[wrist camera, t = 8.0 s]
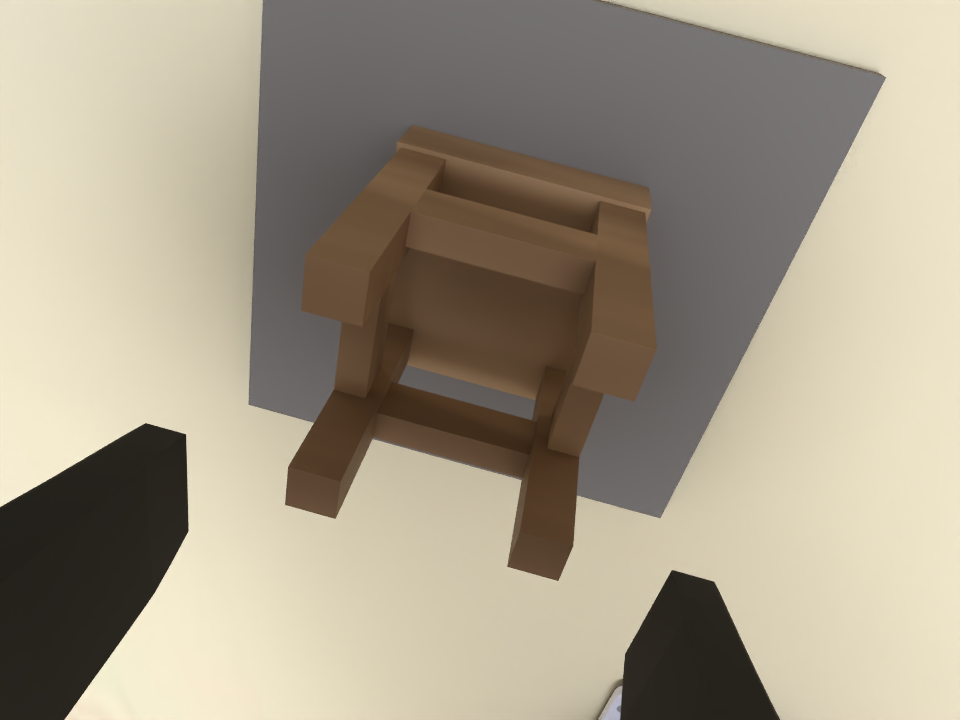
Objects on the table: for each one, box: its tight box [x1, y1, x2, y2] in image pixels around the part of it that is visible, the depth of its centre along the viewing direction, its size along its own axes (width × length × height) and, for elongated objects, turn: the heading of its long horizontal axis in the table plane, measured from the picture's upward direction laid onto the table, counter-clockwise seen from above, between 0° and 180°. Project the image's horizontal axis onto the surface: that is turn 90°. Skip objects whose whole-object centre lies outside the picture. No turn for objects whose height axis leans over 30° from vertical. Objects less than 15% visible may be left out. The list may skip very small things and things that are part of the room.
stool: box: [285, 125, 657, 581], centre depth 15 cm, size 6×6×7 cm
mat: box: [249, 0, 886, 518], centre depth 18 cm, size 13×13×1 cm
